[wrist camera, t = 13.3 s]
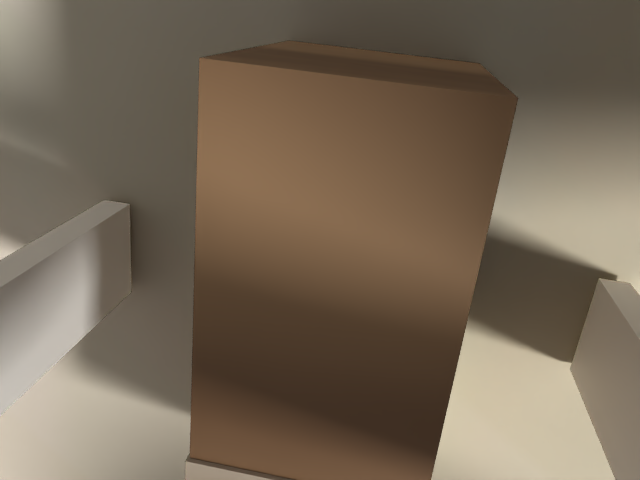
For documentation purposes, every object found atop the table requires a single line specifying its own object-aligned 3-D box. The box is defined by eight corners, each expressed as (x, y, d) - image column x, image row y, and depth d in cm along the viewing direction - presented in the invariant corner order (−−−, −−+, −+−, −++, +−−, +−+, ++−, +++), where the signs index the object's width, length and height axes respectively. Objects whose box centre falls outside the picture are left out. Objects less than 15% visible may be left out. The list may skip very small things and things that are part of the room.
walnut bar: (286, 40, 14) (193, 57, 8) (481, 63, 13) (523, 99, 8) (255, 437, 18) (182, 623, 13) (400, 466, 18) (389, 673, 12)
